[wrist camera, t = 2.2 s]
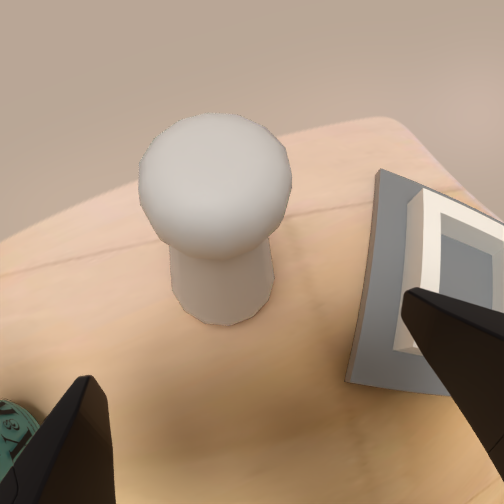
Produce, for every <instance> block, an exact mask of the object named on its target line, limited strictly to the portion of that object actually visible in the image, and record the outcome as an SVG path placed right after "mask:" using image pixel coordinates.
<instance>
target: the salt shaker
mask: <svg viewBox="0 0 504 504" xmlns="http://www.w3.org/2000/svg"><path fill="white" fill-rule="evenodd" d="M291 189H292V173H291V168H290V164H289V160H288V156H287V152H286V148H285V147H284V146H283V145H282V144H281V143H280V142H279V140H278V139H277V138H276V137H275V136H274V135H273V134H272V133H271V132H270V131H269V130H268V129H267V128H266V127H264V126H262V125H260V124H258V123H256V122H253V121H251V120H249V119H247V118H244V117H242V116H240V115H236V114H222V113H205V114H201V115H197V116H193V117H190V118H186V119H182V120H179V121H178V122H176V123H175V124H173V125H172V126H171V127H169V128H168V129H166V130H165V131H164V132H162V133H161V134H160V135H158V136H157V137H155V138H154V140H153V141H152V143H151V144H150V146H149V148H148V149H147V151H146V152H145V154H144V156H143V157H142V159H141V161H140V162H139V187H138V192H139V199H140V205H141V207H142V209H143V210H144V212H145V214H146V216H147V218H148V220H149V221H150V223H151V225H152V227H153V229H154V231H155V232H156V234H157V235H158V237H159V238H160V240H161V241H163V242H164V243H166V244H168V245H169V252H170V271H171V283H172V291H173V293H174V295H175V296H176V298H177V300H178V301H179V303H180V305H181V306H182V308H183V310H184V311H186V312H187V313H189V314H190V315H192V316H194V317H195V318H197V319H198V320H200V321H202V322H203V323H207V324H216V325H225V326H230V325H233V324H236V323H238V322H241V321H243V320H246V319H249V318H251V317H253V316H254V315H255V313H256V312H257V311H258V310H259V309H260V308H261V307H262V306H263V305H264V304H265V303H266V302H267V301H268V300H269V296H270V293H271V289H272V286H273V282H274V279H275V278H274V271H273V265H272V258H271V252H270V245H269V238H268V237H269V236H270V235H271V234H272V233H273V232H274V231H275V230H276V229H277V228H278V227H279V225H280V223H281V221H282V219H283V217H284V214H285V211H286V207H287V204H288V200H289V196H290V193H291Z"/></svg>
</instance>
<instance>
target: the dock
mask: <svg viewBox="0 0 504 504" xmlns="http://www.w3.org/2000/svg"><path fill="white" fill-rule="evenodd" d="M414 287H419V288H422V289H426V290H429V291H433V292H436V293H439V294H443V295H446V296H449V297H453V298H456V299H459V300H462V301H466V302H469V303H472V304H476V305H479V306H482V307H486V308H489V309H492V310H495V311H499V312H502V313H504V223H502V222H500V221H498V220H496V219H494V218H492V217H490V216H488V215H486V214H484V213H482V212H480V211H478V210H476V209H474V208H472V207H470V206H468V205H466V204H464V203H462V202H460V201H458V200H456V199H453V198H451V197H449V196H447V195H445V194H442V193H440V192H438V191H436V190H433V189H431V188H429V187H426V186H424V185H422V184H419V183H417V182H414V181H412V180H409V179H407V178H404V177H402V176H399V175H397V174H394V173H392V172H389V171H386V170H384V169H381V168H380V170H379V171H378V173H377V174H376V179H375V193H374V205H373V216H372V226H371V235H370V243H369V251H368V259H367V266H366V273H365V280H364V286H363V292H362V298H361V304H360V310H359V315H358V321H357V326H356V331H355V336H354V341H353V345H352V350H351V355H350V359H349V364H348V368H347V372H346V376H345V380H344V382H349V383H355V384H360V385H366V386H372V387H379V388H385V389H392V390H399V391H406V392H414V393H423V394H432V395H441V396H451V395H450V394H449V392H448V391H447V389H446V388H445V387H444V385H443V384H442V382H441V381H440V379H439V378H438V376H437V375H436V374H435V372H434V371H433V369H432V368H431V367H430V365H429V364H428V362H427V361H426V359H425V358H424V356H423V355H422V353H421V351H420V350H419V348H418V346H417V344H416V343H415V341H414V339H413V337H412V336H411V334H410V332H409V331H408V329H407V327H406V326H405V324H404V322H403V321H402V318H401V307H402V301H403V295H404V292H405V291H406V290H409V289H411V288H414Z"/></svg>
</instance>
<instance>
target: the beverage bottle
mask: <svg viewBox="0 0 504 504" xmlns="http://www.w3.org/2000/svg"><path fill="white" fill-rule="evenodd" d="M7 400H8V399H7ZM39 427H40V426H39V424H38V423H37V421H36V420H35V419H34V417H33V416H32V415H31V414H30V413H29V412H28V411H27V410H25V409H24V408H23V407H21V406H19V405H17V404H16V403H14V402H13V403H12V402H10V401H6V400H4V398H3V400H0V482H1V481H2V479H3V478H4V477H5V475H6V474H7V472H8V471H9V469H10V468H11V466H13V464H14V462H15V461H16V459H17V458H18V456H19V455H20V454H21V452H22V451H23V449H24V448H25V446H26V445H27V444H28V442H29V441H30V439H31V438H32V437H33V435H34V434H35V433H36V431H37V430H38V428H39Z"/></svg>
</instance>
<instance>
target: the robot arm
mask: <svg viewBox="0 0 504 504" xmlns="http://www.w3.org/2000/svg"><path fill="white" fill-rule="evenodd" d="M401 318H402V321H403V322H404V324H405V326H406V327H407V329H408V331H409V332H410V334H411V336H412V337H413V339H414V341H415V343H416V344H417V346H418V348H419V350H420V351H421V353H422V355H423V356H424V358H425V359H426V361H427V362H428V364H429V365H430V367H431V368H432V369H433V371H434V372H435V374H436V375H437V376H438V378H439V379H440V381H441V382H442V384H443V385H444V387H445V388H446V389H447V391H448V392H449V394H450V395H451V397H452V398H453V400H454V401H455V403H456V404H457V406H458V407H459V409H460V410H461V412H462V413H463V415H464V416H465V418H466V420H467V421H468V423H469V424H470V426H471V427H472V429H473V431H474V432H475V434H476V435H477V437H478V439H479V440H480V442H481V443H482V445H483V447H484V448H485V450H486V452H487V453H488V455H489V457H490V459H491V460H492V462H493V464H494V466H495V467H496V469H497V471H498V473H499V474H500V476H501V478H502V480H503V481H504V313H502V312H499V311H495V310H492V309H489V308H486V307H482V306H479V305H476V304H472V303H469V302H466V301H462V300H459V299H456V298H453V297H449V296H446V295H443V294H439V293H436V292H433V291H429V290H426V289H422V288H419V287H414V288H411V289H409V290H406V291H405V292H404V295H403V301H402V307H401ZM0 504H116V498H115V485H114V467H113V447H112V438H111V430H110V421H109V412H108V401H107V397H106V395H105V393H104V391H103V390H102V389H101V387H100V386H99V384H98V383H97V381H96V380H95V378H94V377H93V376H92V375H85V376H79V377H78V378H77V379H76V380H75V381H74V382H73V384H72V385H71V386H70V387H69V389H68V390H67V391H66V393H65V394H64V395H63V397H62V398H61V399H60V400H59V402H58V403H57V404H56V406H55V407H54V408H53V410H52V411H51V412H50V414H49V415H48V416H47V418H46V419H45V420H44V422H43V423H42V424H41V426H40V427H39V428H38V430H37V431H36V433H35V434H34V435H33V437H32V438H31V439H30V441H29V442H28V444H27V445H26V446H25V448H24V449H23V451H22V452H21V454H20V455H19V456H18V458H17V459H16V461H15V462H14V464H13V466H11V468H10V469H9V471H8V472H7V474H6V475H5V477H4V478H3V479H2V481H1V482H0Z"/></svg>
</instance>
